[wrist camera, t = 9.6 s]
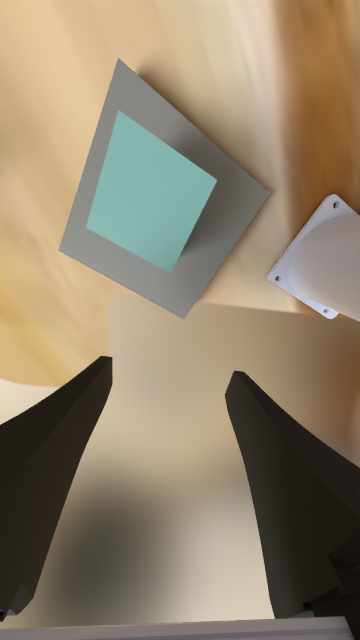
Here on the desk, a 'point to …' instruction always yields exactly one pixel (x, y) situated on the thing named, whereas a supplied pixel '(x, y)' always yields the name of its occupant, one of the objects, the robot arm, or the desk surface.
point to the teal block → (147, 195)
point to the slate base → (212, 225)
